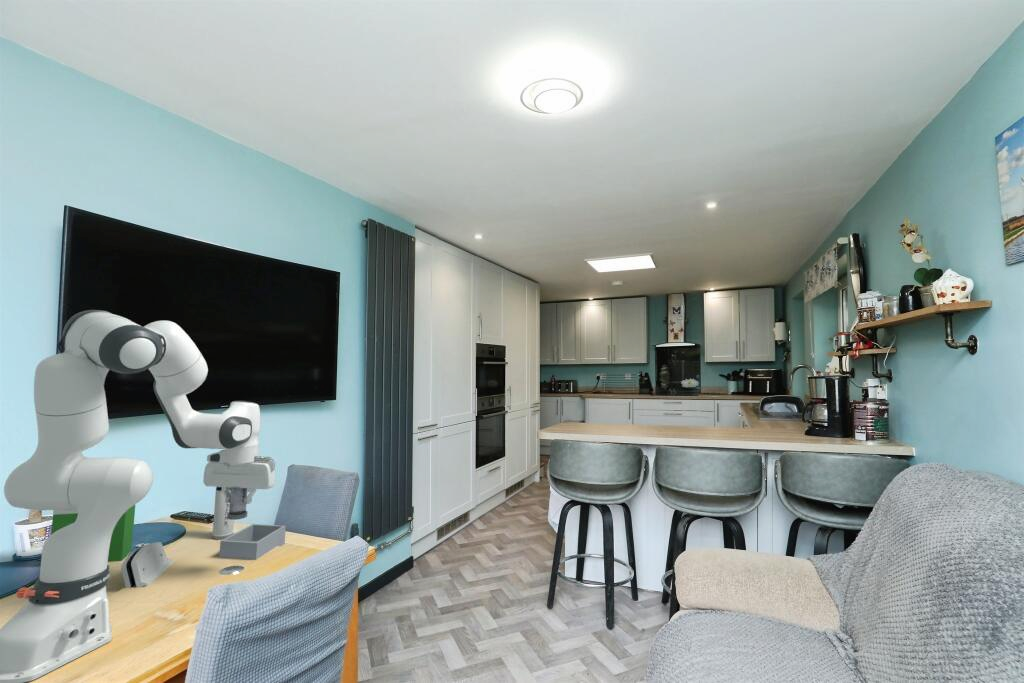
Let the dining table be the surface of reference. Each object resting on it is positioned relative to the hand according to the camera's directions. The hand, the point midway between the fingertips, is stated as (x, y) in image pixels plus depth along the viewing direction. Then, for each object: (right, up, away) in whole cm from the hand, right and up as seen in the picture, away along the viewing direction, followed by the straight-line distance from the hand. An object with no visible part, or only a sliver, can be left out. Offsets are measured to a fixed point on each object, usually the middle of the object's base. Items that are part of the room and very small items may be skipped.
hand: (238, 502), depth 141 cm
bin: (-3, -21, +15) cm, 26 cm away
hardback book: (-47, -19, +5) cm, 51 cm away
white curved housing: (-22, -19, -7) cm, 30 cm away
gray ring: (-1, -20, -2) cm, 20 cm away
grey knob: (0, -4, 0) cm, 4 cm away
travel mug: (-21, -21, +27) cm, 41 cm away
